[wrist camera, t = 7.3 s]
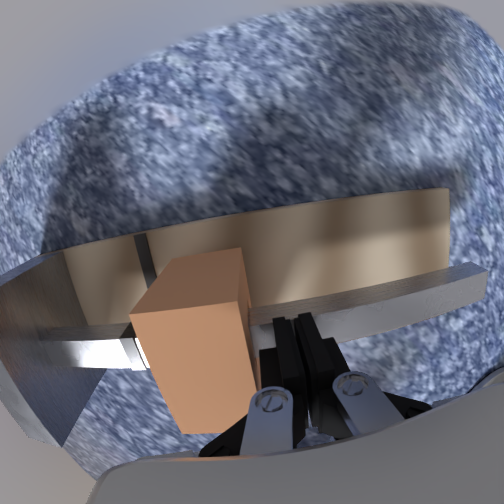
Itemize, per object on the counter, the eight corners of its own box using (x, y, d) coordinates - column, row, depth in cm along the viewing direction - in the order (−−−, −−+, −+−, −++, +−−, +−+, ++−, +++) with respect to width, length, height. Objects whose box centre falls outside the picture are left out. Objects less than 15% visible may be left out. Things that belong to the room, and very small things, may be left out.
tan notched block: (241, 247, 16) (237, 301, 9) (259, 348, 18) (265, 428, 11) (172, 258, 16) (128, 314, 9) (199, 355, 18) (182, 433, 11)
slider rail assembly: (431, 188, 17) (539, 211, 7) (427, 311, 20) (500, 382, 10) (40, 254, 18) (-48, 305, 8) (81, 360, 21) (28, 437, 11)
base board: (441, 187, 17) (450, 188, 16) (436, 308, 20) (444, 315, 19) (40, 254, 18) (31, 258, 17) (81, 360, 21) (75, 368, 19)
